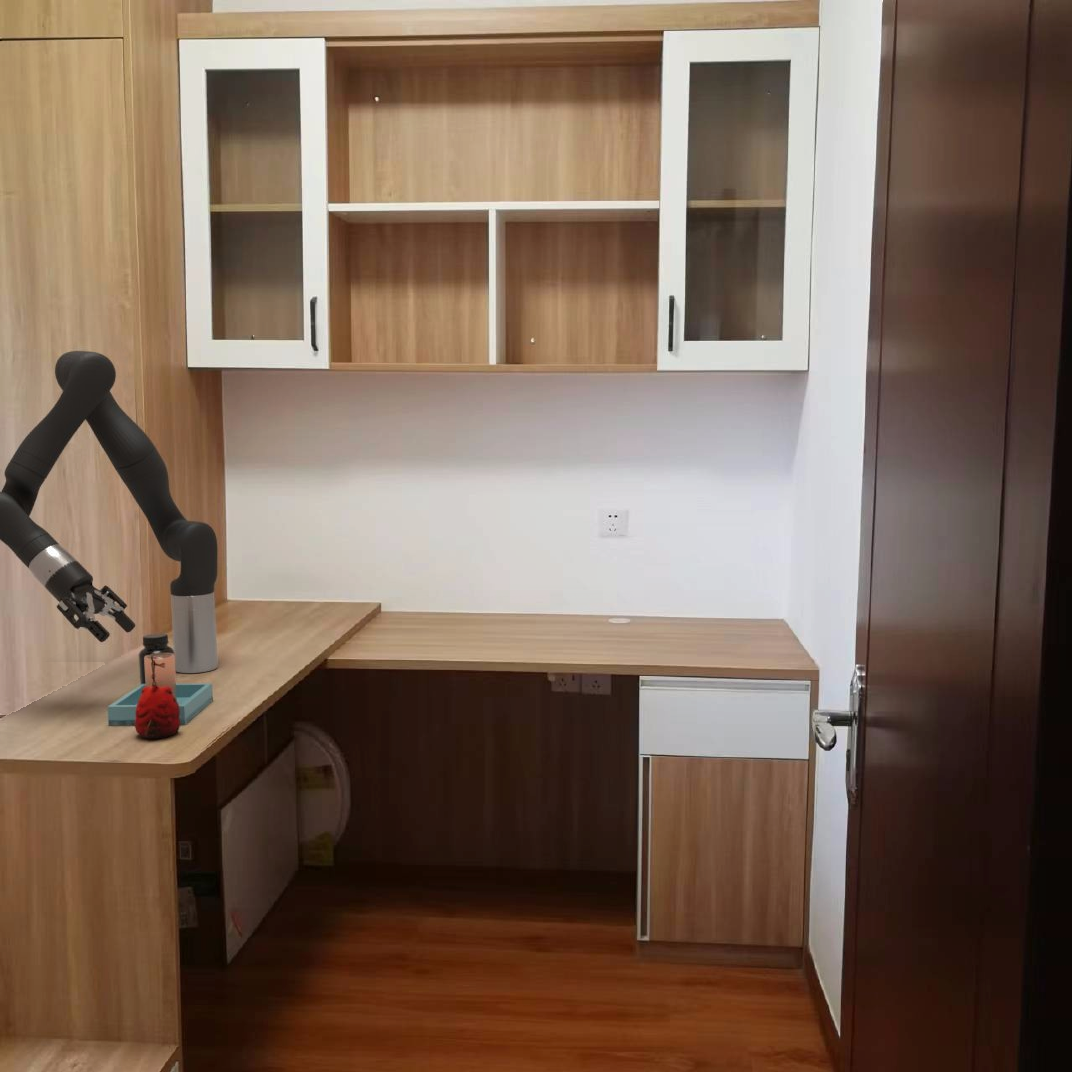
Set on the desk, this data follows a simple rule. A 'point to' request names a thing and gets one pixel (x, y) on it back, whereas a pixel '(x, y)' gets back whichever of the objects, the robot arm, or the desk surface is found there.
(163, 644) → the supplement bottle
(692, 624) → the desk surface
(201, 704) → the teal tray
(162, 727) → the red clay folk toy
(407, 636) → the desk surface
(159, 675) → the terracotta cup
